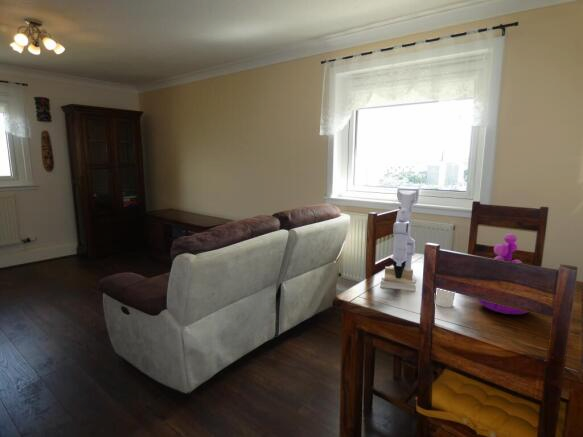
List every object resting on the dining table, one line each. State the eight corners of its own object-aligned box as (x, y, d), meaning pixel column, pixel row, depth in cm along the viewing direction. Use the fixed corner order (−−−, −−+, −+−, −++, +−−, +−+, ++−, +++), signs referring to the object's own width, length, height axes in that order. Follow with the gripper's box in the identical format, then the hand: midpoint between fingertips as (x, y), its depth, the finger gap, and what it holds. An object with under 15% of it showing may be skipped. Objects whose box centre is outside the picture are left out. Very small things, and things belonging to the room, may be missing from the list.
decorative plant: (503, 323, 119) (513, 240, 114) (464, 302, 137) (471, 230, 132) (544, 317, 124) (555, 237, 119) (501, 298, 142) (509, 227, 137)
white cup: (458, 308, 132) (460, 283, 130) (437, 308, 132) (439, 283, 130) (449, 300, 139) (451, 277, 138) (429, 300, 140) (431, 276, 138)
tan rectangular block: (384, 281, 158) (385, 266, 157) (411, 284, 154) (412, 269, 153) (384, 282, 155) (385, 268, 154) (411, 286, 152) (412, 270, 150)
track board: (381, 281, 161) (381, 276, 160) (415, 285, 156) (415, 280, 155) (380, 286, 154) (380, 281, 154) (415, 291, 149) (415, 285, 149)
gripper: (391, 243, 160) (390, 271, 162) (390, 251, 146) (388, 281, 149) (407, 245, 158) (405, 273, 160) (407, 252, 144) (405, 283, 146)
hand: (398, 277), depth 154 cm, fingers closed on tan rectangular block, 2 cm apart
